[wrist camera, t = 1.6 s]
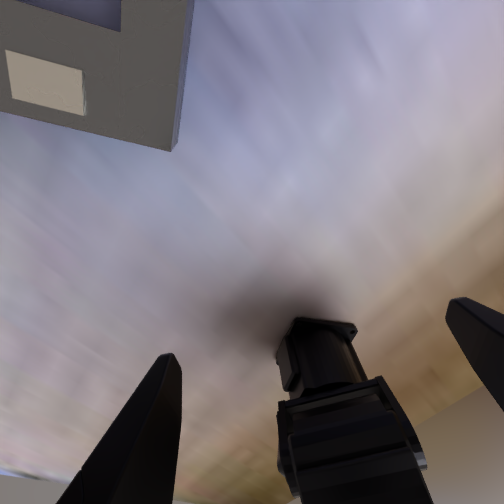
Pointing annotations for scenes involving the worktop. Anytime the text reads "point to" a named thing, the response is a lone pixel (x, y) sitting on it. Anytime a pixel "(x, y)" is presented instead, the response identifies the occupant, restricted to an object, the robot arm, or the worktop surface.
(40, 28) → the plate
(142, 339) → the worktop surface
